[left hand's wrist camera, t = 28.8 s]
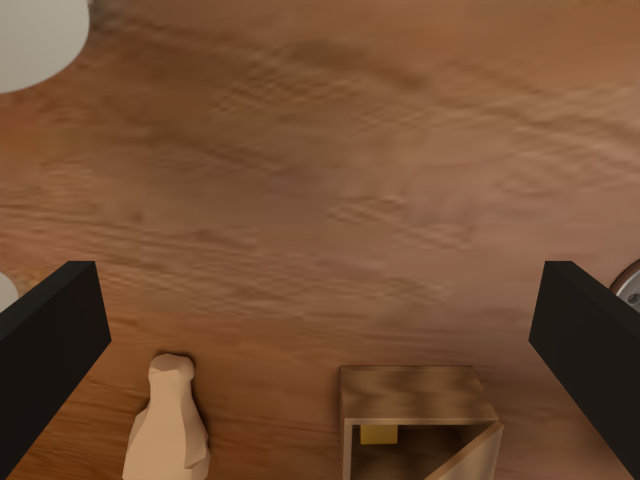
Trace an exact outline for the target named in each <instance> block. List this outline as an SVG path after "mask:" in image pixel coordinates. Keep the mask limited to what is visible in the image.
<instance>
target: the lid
mask: <svg viewBox="0 0 640 480" xmlns="http://www.w3.org/2000/svg"><path fill="white" fill-rule="evenodd" d="M503 428H504V424H502V423H501V422H499V421H496V422H495V423H494V424H492V425H491V426H490V427H489V428H487V429H486V430H485V431H484V432H482V433H481V434H480V435H479V436H477V437H476V438H475V439H474V440H473V441H471V442H470V443H469V444H468V445H466V446H465V447H464V448H463V449H461V450H460V451H459V452H458V453H456V454H455V455H454V456H453V457H451V458H450V459H449V460H448V461H446V462H445V463H444V464H443V465H442V466H440V467H439V468H438V469H437V470H435V471H434V472H433V473H432V474H430V475H429V476H428V477H427V478H425V479H424V480H493V477H494V472H495V467H496V462H497V457H498V453H499V448H500V443H501V438H502V433H503Z"/></svg>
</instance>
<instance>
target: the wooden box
mask: <svg viewBox="0 0 640 480" xmlns="http://www.w3.org/2000/svg"><path fill="white" fill-rule="evenodd" d="M496 421H499V418H498V416H497V414H496V412H495V411H494V409H493V407H492V405H491V403H490V401H489V399H488V397H487V395H486V393H485V391H484V389H483V387H482V385H481V383H480V381H479V379H478V377H477V375H476V373H475V371H474V369H473V367H472V366H341V377H340V418H339V433H340V453H341V471H342V480H424V479H425V478H427V477H428V476H429V475H430V474H432V473H433V472H434V471H435V470H437V469H438V468H439V467H440V466H442V465H443V464H444V463H445V462H446V461H448V460H449V459H450V458H451V457H453V456H454V455H455V454H456V453H458V452H459V451H460V450H461V449H463V448H464V447H465V446H466V445H468V444H469V443H470V442H471V441H473V440H474V439H475V438H476V437H477V436H479V435H480V434H481V433H482V432H484V431H485V430H486V429H487V428H489V427H490V426H491V425H492V424H494V423H495V422H496ZM359 425H398V435H397V443H394V444H361V443H360V434H359Z"/></svg>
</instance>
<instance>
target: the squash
mask: <svg viewBox="0 0 640 480" xmlns="http://www.w3.org/2000/svg"><path fill="white" fill-rule="evenodd" d="M194 374H195V370H194V366H193V363H192V361H191V360H190V359H189V358H188V357H182V356H176V355H172V354H168V353H167V354H163V355H160V356H156V357H155V358H154V359H153V360H152V361H151V363H150V369H149V375H148V378H149V381H150V385H151V399H150V402H149V404H148V406H147V408H146V409H145V410H143V411H142V412H141V413H140V414H138V415H137V416H136V419H135V422H134V425H133V427H132V430H131V433H130V436H129V442H128V448H127V454H126V460H125V465H124V471H123V479H124V480H204V479H205V478H206V477H207V474H208V468H209V463H210V457H211V455H210V452H209V450H208V447H207V441H208V434H207V432H206V430H205V427H204V425H203V423H202V421H201V418H200V416H199V414H198V411H197V409H196V406H195V404H194V401H193V398H192V392H191V379H192V378H193V377H194Z"/></svg>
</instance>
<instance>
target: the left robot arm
mask: <svg viewBox="0 0 640 480" xmlns="http://www.w3.org/2000/svg"><path fill="white" fill-rule="evenodd" d="M111 341H112V340H111V335H110V331H109V326H108V321H107V317H106V312H105V307H104V302H103V298H102V293H101V288H100V284H99V279H98V274H97V270H96V265H95V261H68V262H66V263H65V264H64V265H63V266H61V267H60V268H59V269H57V270H56V271H55V272H53V273H52V274H51V275H49V276H48V277H47V278H46V279H44V280H43V281H42V282H40V283H39V284H38V285H36V286H35V287H34V288H32V289H31V290H30V291H29V292H27V293H26V294H25V295H23V296H22V297H21V298H19V299H18V300H17V301H16V302H14V303H13V304H12V305H10V306H9V307H8V308H6V309H5V310H4V311H2V312H1V313H0V480H5V479H6V478H7V477H8V475H9V474H10V473H11V472H12V470H13V469H14V468H15V466H16V465H17V464H18V462H19V461H20V460H21V458H22V457H23V456H24V455H25V453H26V452H27V451H28V449H29V448H30V447H31V445H32V444H33V443H34V442H35V440H36V439H37V438H38V436H39V435H40V434H41V432H42V431H43V430H44V428H45V427H46V426H47V425H48V423H49V422H50V421H51V419H52V418H53V417H54V415H55V414H56V413H57V411H58V410H59V409H60V408H61V406H62V405H63V404H64V402H65V401H66V400H67V398H68V397H69V396H70V394H71V393H72V392H73V391H74V389H75V388H76V387H77V385H78V384H79V383H80V381H81V380H82V379H83V378H84V376H85V375H86V374H87V372H88V371H89V370H90V368H91V367H92V366H93V364H94V363H95V362H96V361H97V359H98V358H99V357H100V355H101V354H102V353H103V351H104V350H105V349H106V347H107V346H108V345H109V344H110V342H111ZM528 341H529V342H530V344H531V345H532V346H533V347H534V349H535V350H536V351H537V353H538V354H539V355H540V357H541V358H542V359H543V361H544V362H545V363H546V364H547V366H548V367H549V368H550V370H551V371H552V372H553V374H554V375H555V376H556V378H557V379H558V380H559V381H560V383H561V384H562V385H563V387H564V388H565V389H566V391H567V392H568V393H569V394H570V396H571V397H572V398H573V400H574V401H575V402H576V404H577V405H578V406H579V408H580V409H581V410H582V411H583V413H584V414H585V415H586V417H587V418H588V419H589V421H590V422H591V423H592V425H593V426H594V427H595V428H596V430H597V431H598V432H599V434H600V435H601V436H602V438H603V439H604V440H605V442H606V443H607V444H608V445H609V447H610V448H611V449H612V451H613V452H614V453H615V455H616V456H617V457H618V458H619V460H620V461H621V462H622V464H623V465H624V466H625V468H626V469H627V470H628V472H629V473H630V474H631V475H632V477H633V478H634V479H635V480H640V313H639V312H638V311H636V310H635V309H634V308H632V307H631V306H630V305H628V304H627V303H626V302H625V301H623V300H622V299H621V298H619V297H618V296H617V295H615V294H614V293H613V292H611V291H610V290H609V289H608V288H606V287H605V286H604V285H602V284H601V283H600V282H598V281H597V280H596V279H594V278H593V277H592V276H591V275H589V274H588V273H587V272H585V271H584V270H583V269H581V268H580V267H579V266H577V265H576V264H575V263H574V262H572V261H545V265H544V270H543V274H542V279H541V284H540V288H539V293H538V298H537V302H536V307H535V312H534V317H533V321H532V326H531V331H530V335H529V340H528Z"/></svg>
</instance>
